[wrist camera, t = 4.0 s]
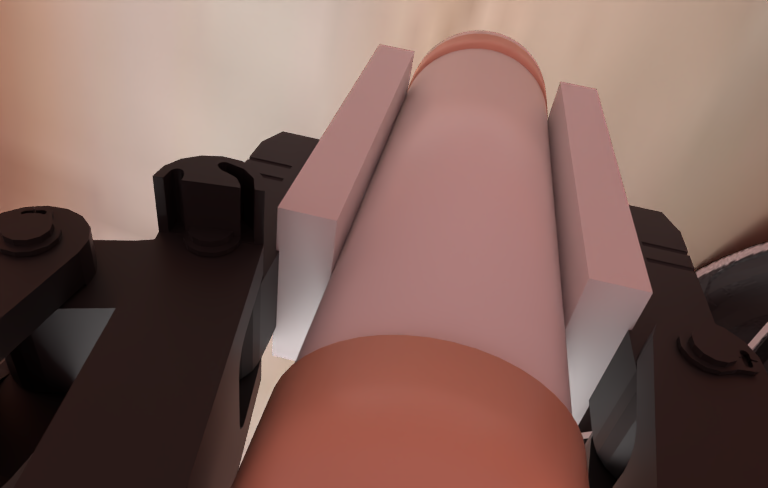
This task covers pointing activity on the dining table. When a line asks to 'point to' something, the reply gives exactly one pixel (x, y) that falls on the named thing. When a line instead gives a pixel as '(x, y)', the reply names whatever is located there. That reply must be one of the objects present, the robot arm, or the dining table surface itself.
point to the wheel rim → (732, 302)
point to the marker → (440, 304)
